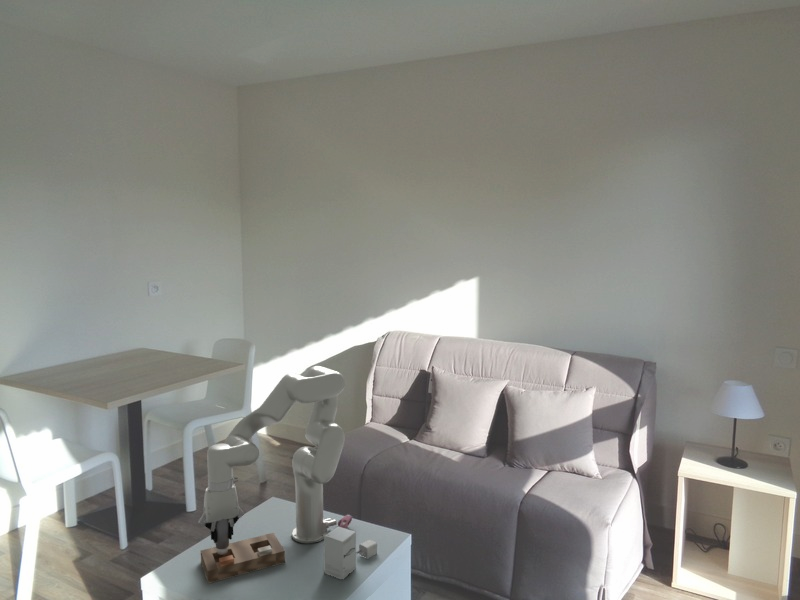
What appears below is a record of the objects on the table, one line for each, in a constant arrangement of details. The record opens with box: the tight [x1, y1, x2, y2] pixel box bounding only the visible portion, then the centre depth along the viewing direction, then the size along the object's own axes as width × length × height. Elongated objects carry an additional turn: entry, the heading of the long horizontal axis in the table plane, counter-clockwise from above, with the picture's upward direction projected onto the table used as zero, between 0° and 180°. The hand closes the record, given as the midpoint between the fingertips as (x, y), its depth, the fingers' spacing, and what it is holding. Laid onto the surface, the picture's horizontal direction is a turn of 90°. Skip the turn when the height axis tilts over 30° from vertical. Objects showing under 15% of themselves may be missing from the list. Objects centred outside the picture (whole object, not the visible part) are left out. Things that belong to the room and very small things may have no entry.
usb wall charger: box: [356, 539, 378, 559], centre depth 192 cm, size 4×7×4 cm, turn 137°
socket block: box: [200, 532, 286, 584], centre depth 188 cm, size 24×13×6 cm, turn 118°
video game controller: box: [337, 513, 354, 530], centre depth 207 cm, size 10×5×7 cm, turn 170°
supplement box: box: [323, 525, 357, 580], centre depth 183 cm, size 7×7×13 cm
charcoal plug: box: [215, 519, 230, 555], centre depth 184 cm, size 4×4×12 cm
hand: (222, 538), depth 185 cm, fingers closed on charcoal plug, 4 cm apart
